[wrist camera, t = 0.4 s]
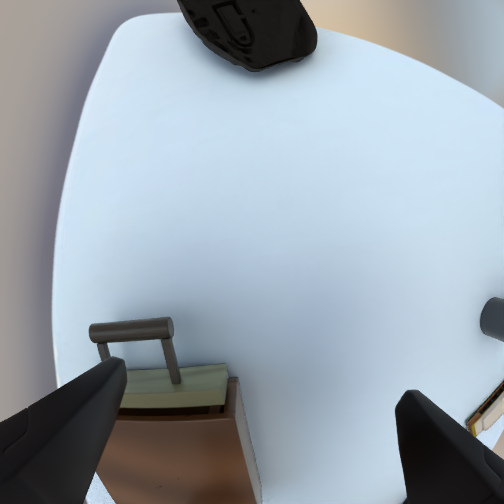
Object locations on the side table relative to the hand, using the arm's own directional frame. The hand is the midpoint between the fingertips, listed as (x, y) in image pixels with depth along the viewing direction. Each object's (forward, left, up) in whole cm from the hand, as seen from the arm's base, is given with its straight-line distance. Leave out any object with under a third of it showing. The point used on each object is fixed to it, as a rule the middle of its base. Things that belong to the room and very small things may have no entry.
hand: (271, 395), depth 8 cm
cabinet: (-13, +9, -14) cm, 21 cm away
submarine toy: (+23, -3, -10) cm, 25 cm away
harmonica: (-18, -29, -14) cm, 36 cm away
